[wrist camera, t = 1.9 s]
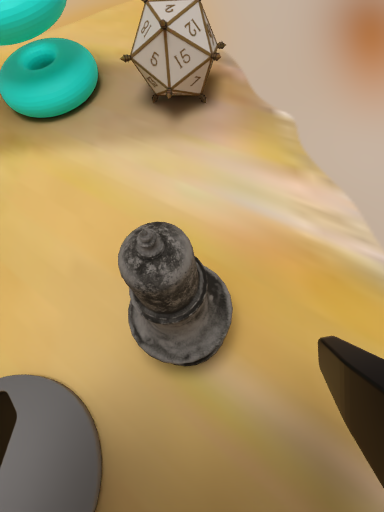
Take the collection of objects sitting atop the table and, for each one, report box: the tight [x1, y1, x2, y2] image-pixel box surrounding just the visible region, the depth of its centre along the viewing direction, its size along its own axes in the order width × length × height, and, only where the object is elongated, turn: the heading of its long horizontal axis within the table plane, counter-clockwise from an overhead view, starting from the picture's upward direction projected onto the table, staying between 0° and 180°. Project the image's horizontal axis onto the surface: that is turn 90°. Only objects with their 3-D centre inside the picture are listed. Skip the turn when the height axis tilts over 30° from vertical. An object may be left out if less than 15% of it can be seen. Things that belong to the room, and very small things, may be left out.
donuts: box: [0, 0, 98, 118], centre depth 28 cm, size 10×10×10 cm
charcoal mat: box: [0, 375, 102, 512], centre depth 17 cm, size 11×11×1 cm
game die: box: [121, 0, 226, 103], centre depth 27 cm, size 9×8×10 cm
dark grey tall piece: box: [118, 222, 233, 366], centre depth 15 cm, size 6×6×12 cm
